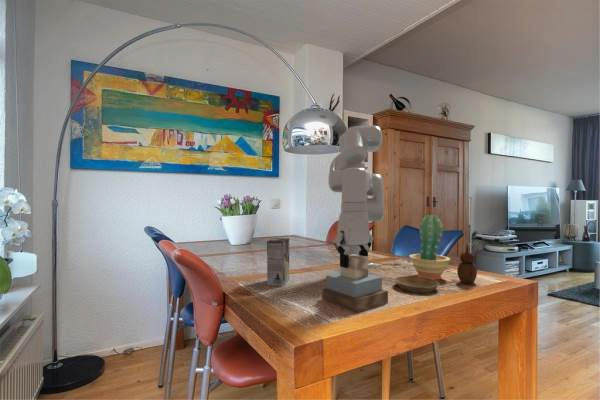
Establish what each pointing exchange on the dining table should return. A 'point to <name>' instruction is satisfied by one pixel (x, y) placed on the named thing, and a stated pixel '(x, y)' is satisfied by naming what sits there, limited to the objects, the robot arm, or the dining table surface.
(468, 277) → the wooden figurine
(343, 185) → the robot arm
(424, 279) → the plant saucer
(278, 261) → the coffee box
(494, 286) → the dining table surface
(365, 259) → the maple cube
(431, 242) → the potted cactus
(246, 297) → the dining table surface
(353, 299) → the tower bottom
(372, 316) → the dining table surface
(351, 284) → the tower top
